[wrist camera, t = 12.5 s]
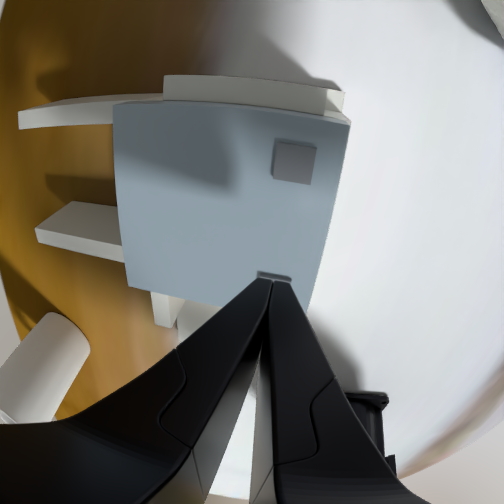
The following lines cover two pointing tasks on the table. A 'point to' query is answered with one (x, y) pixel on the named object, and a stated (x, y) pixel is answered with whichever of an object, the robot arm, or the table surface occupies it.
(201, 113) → the cover
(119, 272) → the table surface
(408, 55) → the table surface
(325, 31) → the table surface
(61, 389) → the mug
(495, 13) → the vase
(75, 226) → the white open box
